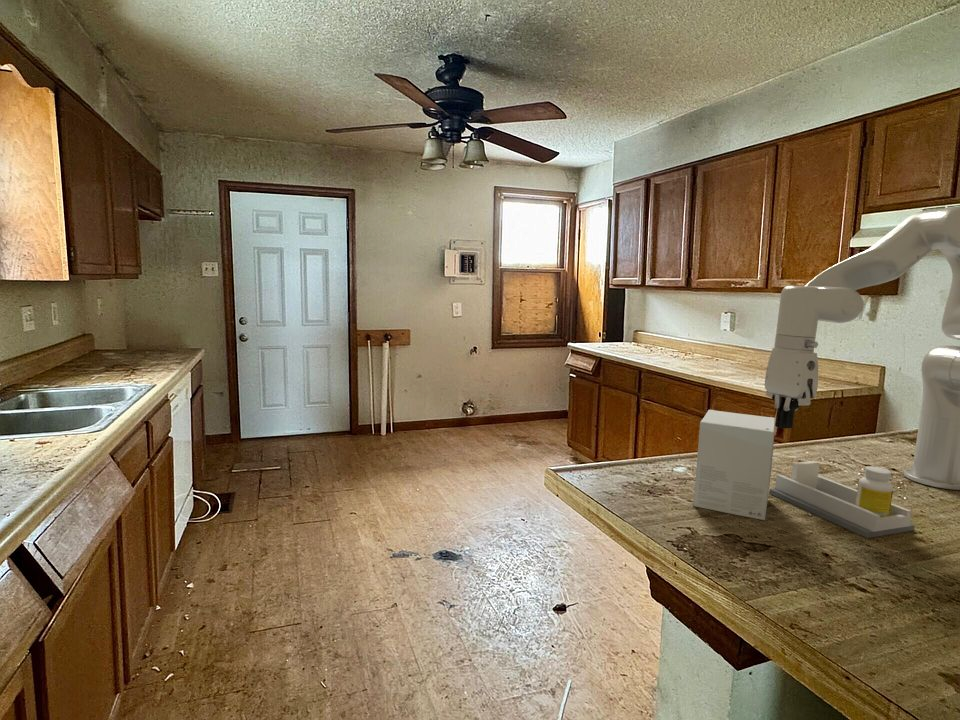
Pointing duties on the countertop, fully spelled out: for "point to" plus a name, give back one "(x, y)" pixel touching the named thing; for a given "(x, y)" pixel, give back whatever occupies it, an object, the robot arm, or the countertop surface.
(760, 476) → the supplement box
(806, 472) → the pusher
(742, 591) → the countertop surface
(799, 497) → the lane
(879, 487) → the supplement bottle
